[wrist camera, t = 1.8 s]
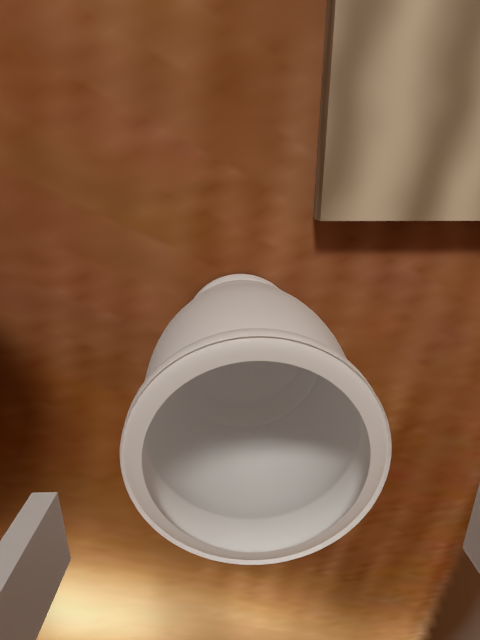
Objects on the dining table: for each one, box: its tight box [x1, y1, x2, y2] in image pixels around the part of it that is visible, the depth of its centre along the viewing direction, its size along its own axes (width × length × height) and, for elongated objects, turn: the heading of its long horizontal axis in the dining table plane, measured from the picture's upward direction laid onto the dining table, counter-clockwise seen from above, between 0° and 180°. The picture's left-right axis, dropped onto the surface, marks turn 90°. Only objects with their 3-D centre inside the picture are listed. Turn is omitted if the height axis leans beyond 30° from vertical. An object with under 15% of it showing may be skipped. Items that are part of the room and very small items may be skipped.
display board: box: [313, 0, 480, 221], centre depth 21 cm, size 15×18×3 cm
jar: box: [120, 274, 391, 565], centre depth 21 cm, size 11×10×15 cm
